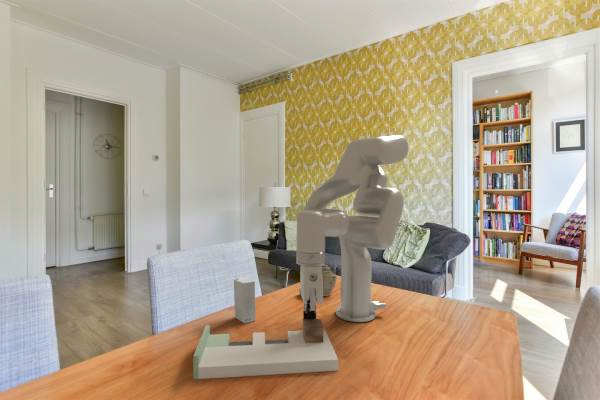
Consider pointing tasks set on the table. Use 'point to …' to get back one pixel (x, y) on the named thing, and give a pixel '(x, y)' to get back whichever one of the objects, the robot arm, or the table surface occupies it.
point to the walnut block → (312, 330)
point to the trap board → (261, 356)
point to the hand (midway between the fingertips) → (309, 326)
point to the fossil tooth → (327, 280)
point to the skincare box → (244, 299)
